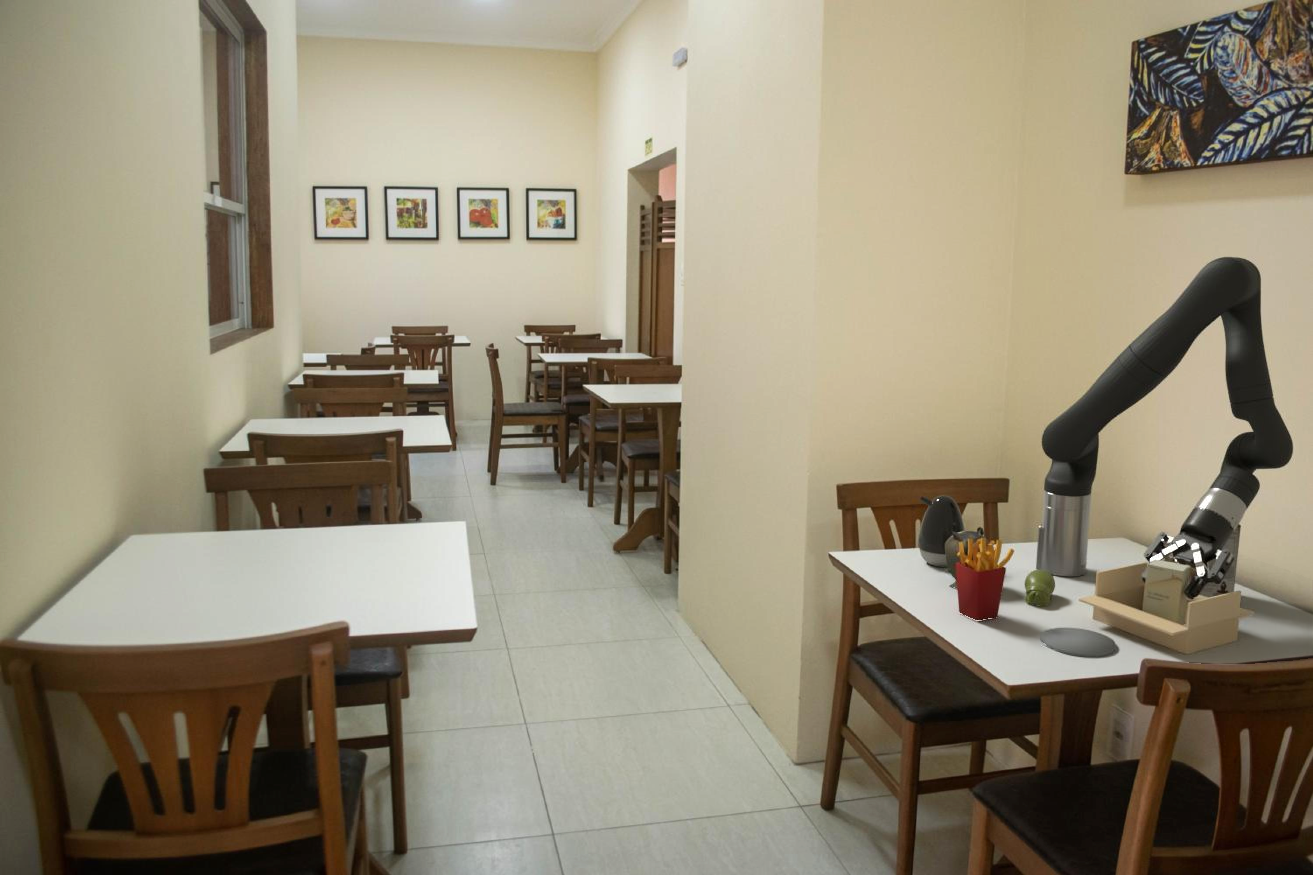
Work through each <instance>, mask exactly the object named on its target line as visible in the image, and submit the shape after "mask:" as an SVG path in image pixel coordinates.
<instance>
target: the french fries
mask: <svg viewBox="0 0 1313 875" xmlns="http://www.w3.org/2000/svg"><path fill="white" fill-rule="evenodd" d="M986 539H987V538H986V537H985V538H981V539H978V540H977V541H976V543H975V545H974V547H973V539H968V555H967V556H966V555H965V554H964V546H963V542H958V543H959V551H960V552H958V554H957V556H959V557H960V559H961V562H958V563H956V577H957V589H956V591H957V600H958V613H959V612H960V613H962V614H963V615H966V616H968V617H970V618H973V619H975V620H983V619H988V618H995V619H997V618H998V615H999V610H1000V604H1001V599H1002V593H1003V588H1004V582H1005V576H1006V570H1007V568H1006V567H1004V566H1005V565H1007V563H1009V561H1010V560H1011V559H1012V557H1013V555H1014V553H1015V550H1014V549H1013V548H1009V550H1008V552H1007V554H1006V556H1005V557H1004V558H1003V559H1002V561H1000V562H999V560H1000V558H1001V553H1002V545H1003V540H1002V539H996V541H995V540H990V541H989V542H990V543H989V544H988V547H987V549H986ZM980 542H981V544H980ZM994 545H995V547H994ZM978 546H979V547H980V552H978ZM972 554H973V560H971V559H972ZM985 557H986V560H985ZM963 615H962V616H963ZM996 617H997V618H996Z"/></svg>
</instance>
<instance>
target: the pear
mask: <svg viewBox="0 0 1313 875" xmlns="http://www.w3.org/2000/svg"><path fill="white" fill-rule="evenodd" d="M1055 588H1056V580H1055V578H1054V577H1053V574H1050V573H1049V572H1047V571H1045V570H1038V569H1034V570H1031V571H1030V572H1029V573H1028V574H1027V575H1026V577H1025V580H1024V589H1025V596H1024V601H1025V602H1026V604H1027V605H1030V604H1033V605H1032V606H1036V605H1039V606H1038V607H1046V606H1049V605H1050V602H1051V595H1052V594H1053V593H1054V591H1055Z"/></svg>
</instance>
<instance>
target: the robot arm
mask: <svg viewBox="0 0 1313 875" xmlns="http://www.w3.org/2000/svg"><path fill="white" fill-rule="evenodd" d="M1261 304H1262V276H1261V273H1260V270H1259V268H1258V267H1257V266H1256V264H1255V263H1253V262H1252V261H1250V260H1248V259H1246V258H1244V257H1243V258H1242V257H1236V256H1234V257H1233V256H1224V257H1223V256H1222V257H1219V258H1215V259H1213V260H1211V261H1209V262H1207V264H1205V265H1204V266H1203V267H1202V268H1201V269H1200V270H1199V271H1198V273H1197V274H1196V275H1195V277H1194V278H1193V279H1192V280H1191V282H1190V283H1189V284H1188V286H1187V287H1186V288H1185V289H1184V291H1182V293H1181V294H1180V295H1179V296H1178V298H1177V299H1176V300H1175V301H1174V302H1173V303H1172V305H1171V306H1170V307H1169V308H1168V309H1167V310H1166V311H1165V312H1164V313H1163V314H1162V315H1160V316H1159V317H1158V318H1156V319H1155V321H1153V322H1152V323H1151V324H1150V325H1149V326H1148V327H1147V328H1146V329H1145V330H1144V331H1142V333H1141V334H1139V335H1138V336H1137V337H1136V338H1135V339H1134V340H1133V341H1132V342H1131V343H1130V344H1129V345H1128V346H1127V347H1126V348H1125V349H1123V351H1122V352H1121V353H1119V355H1118V356H1117V357H1116V358H1115V359H1114V360H1113V361H1112V362H1111V363H1110V365H1109V366H1107V367H1106V369H1105V370H1104V371H1103V372H1102V373H1101V374H1100V376H1099V377H1098V378H1097V379H1096V380H1095V382H1093V383H1092V385H1091V386H1090V387H1089V389H1087V391H1086V392H1085V393H1084V394H1083V395H1082V396H1081V397H1080V398H1079V399H1078V400H1077V401H1075V403H1073V404H1072V405H1071V406H1069V407H1068V408H1067V409H1066V410H1065V411H1064V412H1062V413H1061V414H1060V415H1059V416H1057V417H1056V418H1055V419H1054V420H1052V421H1050V422H1049V423H1048V425H1047V426H1046V427H1045V429H1044V431H1043V432H1042V435H1041V448H1042V451H1043V452H1044V453H1045V455H1046V457H1048V458H1049V459H1050V460H1051V466H1050V468H1049V471H1048V473H1047V474H1046V476H1045V479H1044V484H1043V486H1044V487H1043V501H1042V502H1043V504H1042V505H1043V506H1042V517H1041V518H1042V519H1041V521H1042V522H1041V524H1040V525H1039V526H1038V530H1037V531H1038V532H1037V547H1036V562H1035V570H1045V571H1047V572H1049V573H1050V574H1051V575H1052V576H1053V575H1055V576H1061V577H1079V576H1080V577H1081V576H1083V575H1085V574H1086V572H1087V563H1088V562H1087V560H1088V558H1087V556H1088V545H1089V544H1088V543H1089V530H1090V519H1091V518H1090V517H1091V516H1090V515H1091V501H1092V500H1091V499H1092V487H1093V483H1094V481H1095V479H1096V474H1097V467H1098V458H1099V457H1098V456H1099V447H1100V437H1099V436H1100V433H1101V431H1103V430H1104V428H1105V427H1106V426H1107V425H1109V423H1110V422H1112V421H1113V420H1115V418H1116V417H1118V416H1120V415H1121V414H1122V413H1124V412H1125V411H1127V410H1128V409H1130V408H1131V407H1133V406H1134V405H1136V404H1137V403H1138V402H1140V401H1141V400H1143V399H1144V398H1145V397H1146V396H1148V395H1149V394H1150V393H1151V392H1153V391H1154V389H1156V388H1157V387H1158V386H1159V385H1160V384H1161V383H1162V382H1163V381H1164V380H1165V379H1166V378H1168V376H1170V374H1172V373H1173V372H1174V371H1175V369H1176V368H1177V367H1178V366H1179V364H1180V363H1181V362H1182V360H1183V359H1184V358H1185V356H1186V355H1187V353H1188V351H1189V349H1190V348H1191V346H1192V345H1193V344H1194V342H1195V341H1196V339H1197V338H1198V337H1199V336H1200V334H1202V332H1203V331H1204V330H1205V329H1207V328H1208V327H1209V326H1211V324H1213V323H1214V322H1215V321H1216V320H1217V319H1218V318H1220V317H1221V321H1222V326H1223V330H1224V338H1225V357H1224V358H1225V362H1224V364H1225V365H1224V367H1225V368H1224V370H1225V372H1224V373H1225V382H1226V388H1227V394H1228V400H1229V404H1230V409H1231V410H1230V411H1231V413H1232V415H1233V417H1234V418H1235V419H1238V420H1242V421H1246V422H1247V423H1248V424H1249V426H1250V427H1251V430H1252V431H1246V432H1243V433H1240V434H1238V435H1237V436H1235V437H1234V438H1233V439H1232V440H1231V441H1230V442H1229V445H1227V448H1226V451H1225V454H1224V457H1223V460H1222V463H1221V467H1220V471H1219V474H1218V475H1217V476H1216V477H1215V479H1214V481H1213V482H1212V484H1211V485H1210V486H1209V488H1208V489H1207V491H1206V492H1204V494H1203V495H1202V496H1201V497H1200V498H1199V499H1198V501H1197V502H1196V503H1195V506H1194V507H1193V509H1192V510H1191V512H1190V513H1189V514H1188V516H1187V517H1186V519H1185V520H1184V522H1183V523H1182V525H1181V527H1180V530H1179V533H1178V534H1177V535H1176V536H1174V537H1172V536H1169V535H1168V534H1167V533H1166V532H1165V531H1161V532H1159V533H1158V535H1157V536H1156V537H1155V538H1154V540H1153V541H1152V542H1151V544H1150V545H1149V546H1148V548H1147V549H1145V551H1144V552H1143V557H1144V558H1145V559H1146V562H1148V563H1149V562H1151V561H1152V560H1154V559H1157V560H1162V561H1167V562H1173V563H1177V564H1183V565H1188V566H1191V567H1192V568H1195V567H1196V569H1197V574H1198V576H1194V578H1193V579H1192V581H1191V582H1190V584H1189V585H1188V587H1187V588H1186V590H1185V591H1184V594H1185V595H1186V596H1187V598H1189V599H1194V597H1197V596H1198V595H1199V594H1200V592H1201V591H1202V589H1203V588H1204V586H1205V585H1206V584H1208V583H1215V584H1220V583H1221V582H1222V580H1223V578H1224V577H1225V575H1226V573H1227V572H1228V570H1229V568H1230V566H1231V565H1232V563H1233V561H1234V557H1233V556H1232V554H1231V553H1230V551H1229V550H1228V549H1223V550H1222V551H1221V549H1222V548H1223V547H1224V545H1225V544H1226V542H1227V541H1228V539H1229V538H1230V536H1231V535H1232V534H1233V532H1234V530H1235V529H1236V527H1237V526H1238V525H1239V524H1240V523H1241V522H1242V519H1243V517H1244V515H1245V513H1246V511H1247V510H1248V509H1249V507H1250V505H1251V504H1252V502H1253V501H1254V500H1255V498H1256V496H1257V495H1258V493H1259V490H1260V489H1261V482H1260V480H1259V479H1258V477H1257V476H1255V475H1254V473H1255V471H1256V470H1272V469H1273V470H1274V469H1281V468H1283V467H1285V466H1287V465H1288V464H1289V463H1290V461H1291V459H1292V458H1293V457H1292V456H1293V454H1294V443H1293V438H1292V436H1291V434H1290V431H1289V430H1288V427H1287V426H1286V424H1285V421H1284V419H1283V417H1282V415H1281V413H1280V412H1279V409H1278V408H1277V406H1276V404H1275V398H1274V391H1273V386H1272V383H1271V376H1270V370H1269V366H1268V362H1267V356H1266V350H1265V342H1264V336H1263V325H1262V312H1261V311H1262V309H1261V308H1262V305H1261ZM1170 555H1172V557H1171V556H1170ZM1215 558H1216V559H1217V560H1216V562H1215V563H1214V565H1213V567H1212V569H1211V570H1210V572H1209V566H1208V562H1209V561H1211V560H1213V559H1215ZM1146 574H1147V568H1146V569H1145V571H1144V572H1143V574H1142V580H1143V582H1144V583H1146Z"/></svg>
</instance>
